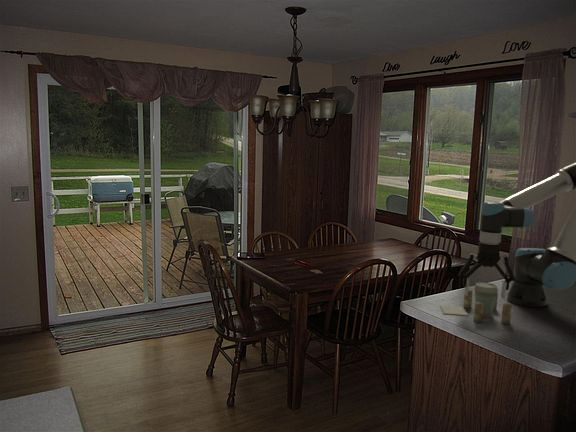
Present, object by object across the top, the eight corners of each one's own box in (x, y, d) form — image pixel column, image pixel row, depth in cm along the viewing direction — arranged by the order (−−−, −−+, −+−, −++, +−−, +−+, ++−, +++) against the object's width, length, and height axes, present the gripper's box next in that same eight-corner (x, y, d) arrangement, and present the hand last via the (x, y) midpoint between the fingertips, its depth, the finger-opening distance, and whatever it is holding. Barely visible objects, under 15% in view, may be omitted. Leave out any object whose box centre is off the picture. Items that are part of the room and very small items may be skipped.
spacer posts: (497, 307, 195) (498, 291, 194) (511, 325, 176) (513, 306, 175) (462, 305, 197) (463, 289, 196) (473, 322, 178) (474, 304, 177)
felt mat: (463, 308, 194) (463, 307, 194) (467, 315, 185) (467, 314, 185) (440, 306, 195) (440, 305, 195) (443, 314, 187) (443, 313, 187)
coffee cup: (493, 320, 181) (496, 289, 179) (470, 315, 185) (472, 285, 184) (497, 313, 188) (500, 284, 186) (474, 309, 192) (476, 280, 191)
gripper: (521, 242, 184) (515, 296, 187) (453, 238, 188) (449, 290, 191) (527, 246, 177) (521, 302, 180) (457, 242, 181) (452, 296, 184)
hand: (484, 296), depth 185 cm, fingers open, 13 cm apart
